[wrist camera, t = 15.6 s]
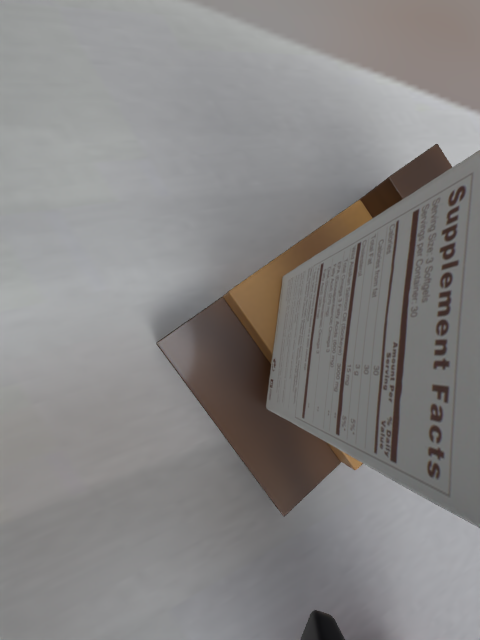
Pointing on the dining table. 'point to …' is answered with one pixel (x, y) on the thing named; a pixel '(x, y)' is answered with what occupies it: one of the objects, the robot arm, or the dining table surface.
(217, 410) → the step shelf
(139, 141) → the dining table surface
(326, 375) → the white packaging box
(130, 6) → the dining table surface
